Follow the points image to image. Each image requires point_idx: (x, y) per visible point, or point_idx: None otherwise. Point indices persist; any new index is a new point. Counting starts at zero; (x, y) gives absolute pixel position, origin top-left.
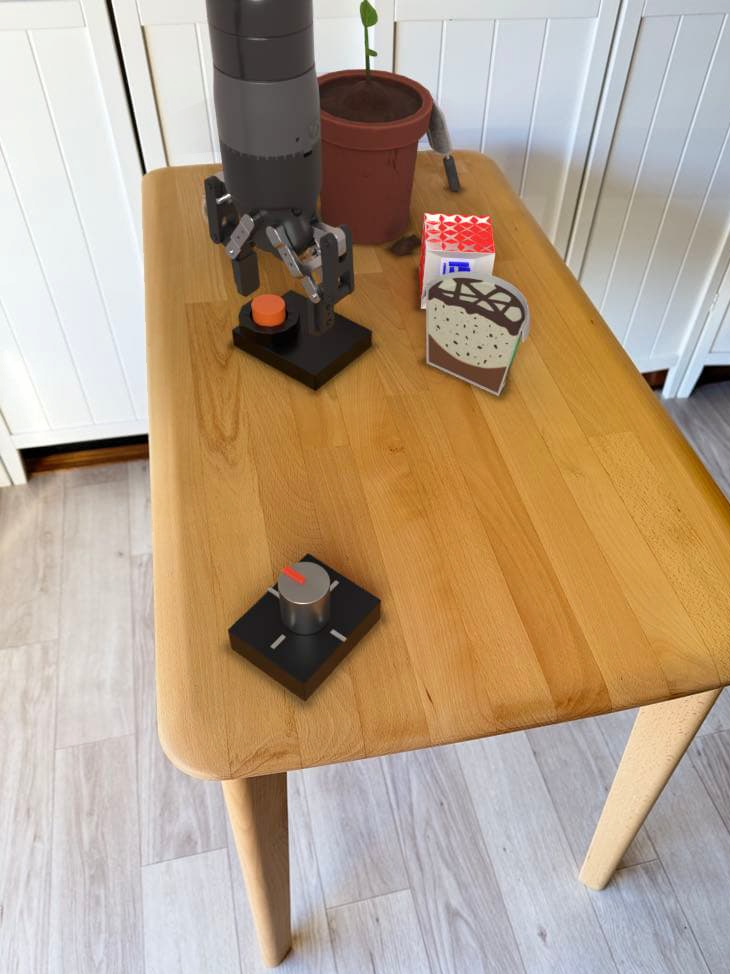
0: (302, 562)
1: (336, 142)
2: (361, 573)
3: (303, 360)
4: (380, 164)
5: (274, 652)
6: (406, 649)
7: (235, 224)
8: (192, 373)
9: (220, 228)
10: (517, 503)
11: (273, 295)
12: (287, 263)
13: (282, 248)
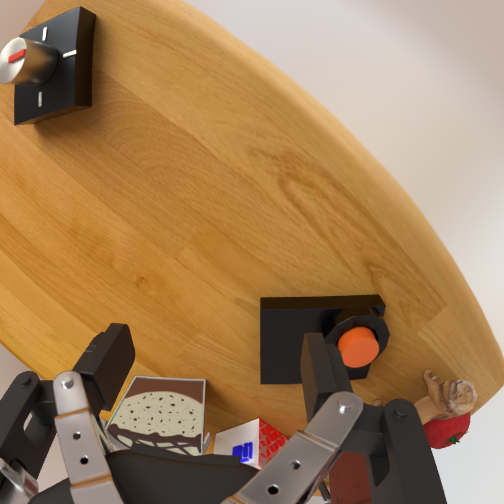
0: (18, 70)
1: None
2: (63, 142)
3: (288, 319)
4: (346, 497)
5: (43, 27)
6: (12, 122)
7: (370, 460)
8: (389, 234)
9: (389, 444)
10: (46, 289)
11: (363, 364)
12: (88, 438)
13: (86, 475)
